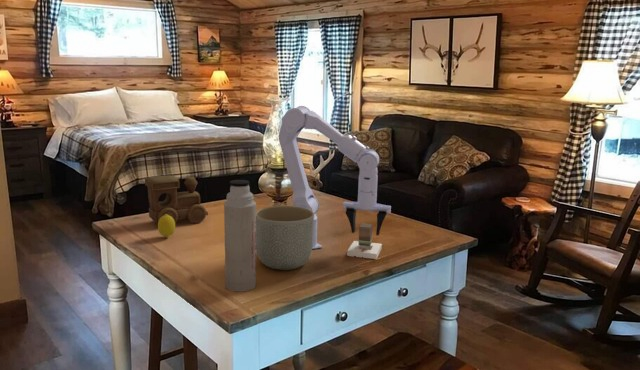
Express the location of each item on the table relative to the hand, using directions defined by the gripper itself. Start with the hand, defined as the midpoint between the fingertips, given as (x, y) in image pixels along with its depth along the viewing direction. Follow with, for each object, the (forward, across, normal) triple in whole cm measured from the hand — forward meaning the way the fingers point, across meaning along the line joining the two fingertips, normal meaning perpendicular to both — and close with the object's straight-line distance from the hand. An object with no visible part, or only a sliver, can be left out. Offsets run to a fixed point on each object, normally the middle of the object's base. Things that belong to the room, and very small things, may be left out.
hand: (365, 233), depth 170 cm
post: (+3, 0, 0) cm, 3 cm away
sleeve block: (+6, 0, 0) cm, 6 cm away
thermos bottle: (+6, +26, +36) cm, 45 cm away
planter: (+6, +20, +18) cm, 28 cm away
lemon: (+6, +64, +8) cm, 65 cm away
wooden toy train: (+6, +70, -9) cm, 71 cm away
